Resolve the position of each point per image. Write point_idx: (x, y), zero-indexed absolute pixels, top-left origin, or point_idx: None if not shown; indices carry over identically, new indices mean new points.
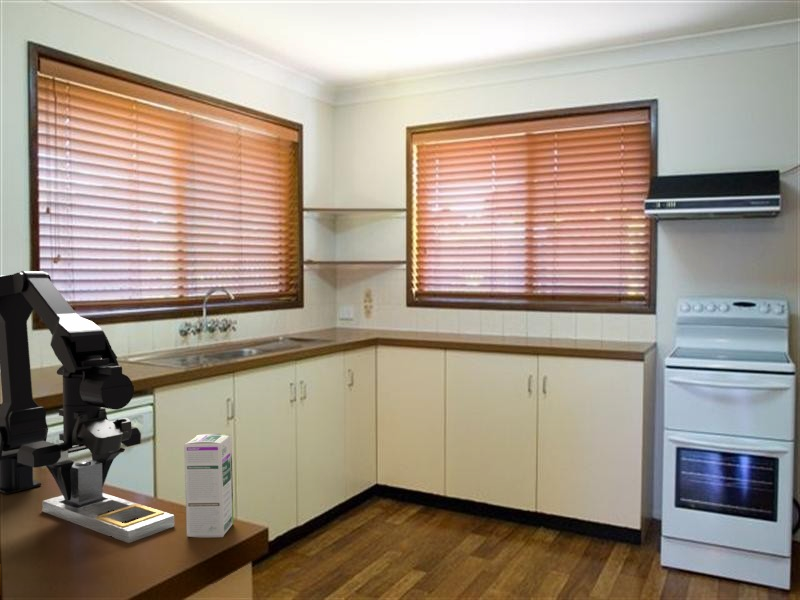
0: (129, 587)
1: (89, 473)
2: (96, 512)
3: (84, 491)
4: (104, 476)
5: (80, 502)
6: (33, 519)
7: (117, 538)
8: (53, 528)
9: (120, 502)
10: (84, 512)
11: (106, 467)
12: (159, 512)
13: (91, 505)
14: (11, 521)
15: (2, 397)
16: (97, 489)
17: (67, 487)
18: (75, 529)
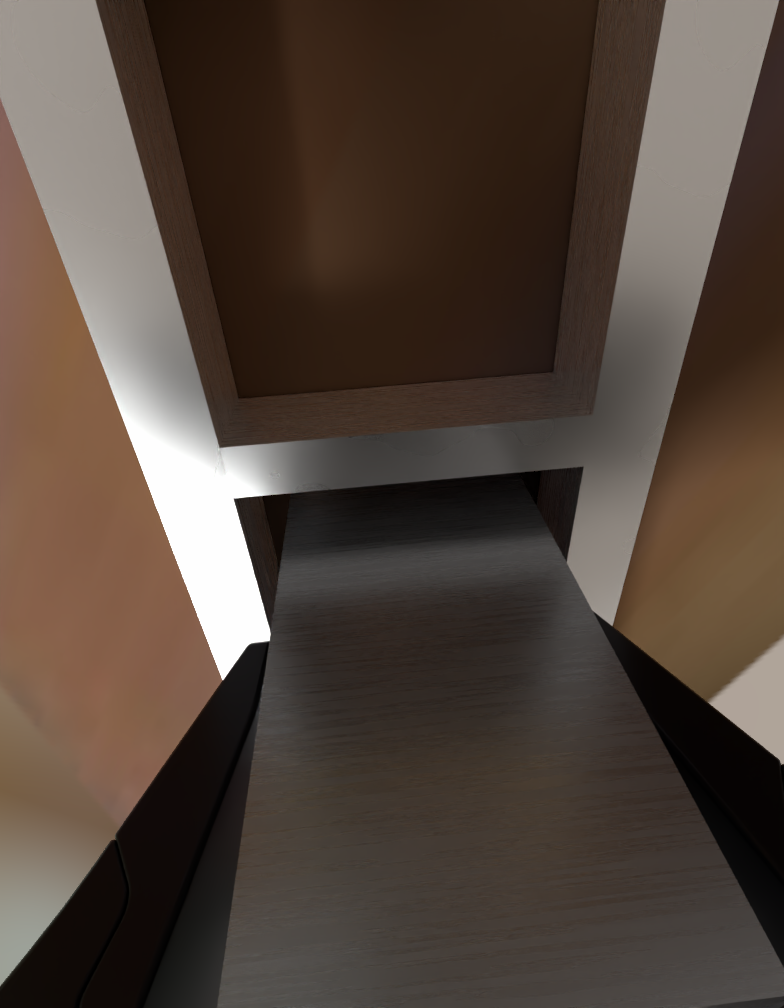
0: None
1: (493, 837)
2: (398, 397)
3: (507, 606)
4: (188, 776)
5: (527, 525)
6: (671, 614)
7: None
8: (773, 366)
9: (171, 272)
10: (646, 276)
11: (119, 922)
12: None
13: (457, 437)
14: (738, 656)
15: None
16: (338, 608)
17: (693, 707)
18: (741, 164)
